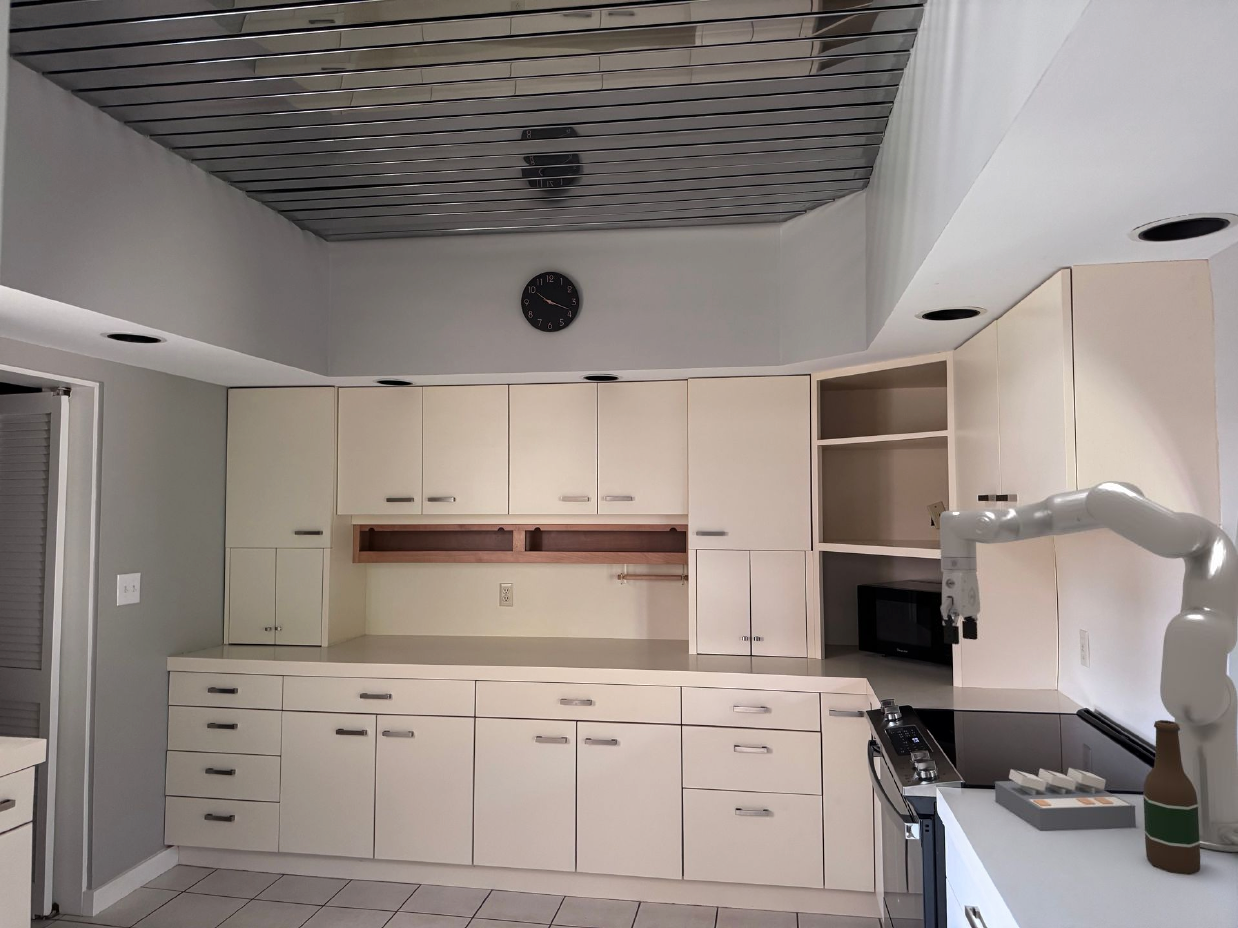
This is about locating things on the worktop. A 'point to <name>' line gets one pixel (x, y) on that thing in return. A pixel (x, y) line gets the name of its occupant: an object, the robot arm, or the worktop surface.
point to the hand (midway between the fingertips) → (961, 641)
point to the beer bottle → (1170, 807)
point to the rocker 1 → (1027, 780)
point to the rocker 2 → (1086, 778)
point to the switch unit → (1065, 806)
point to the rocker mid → (1057, 779)
